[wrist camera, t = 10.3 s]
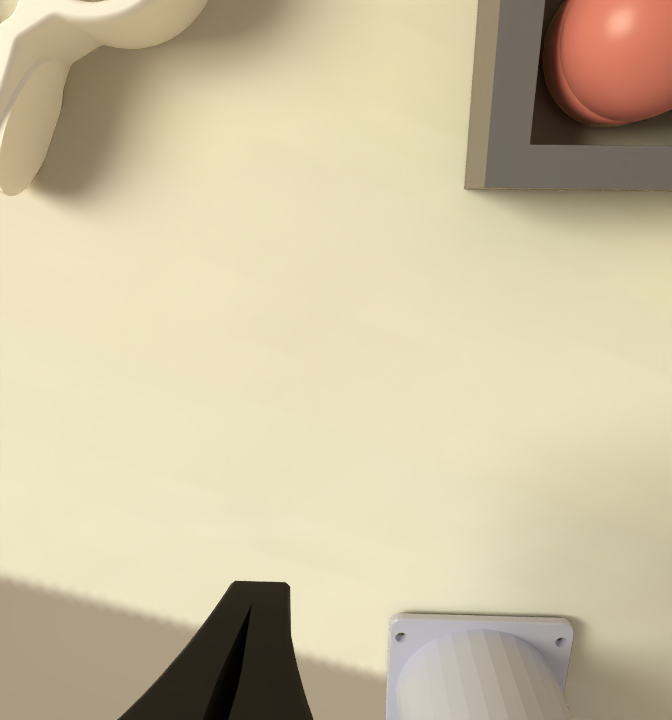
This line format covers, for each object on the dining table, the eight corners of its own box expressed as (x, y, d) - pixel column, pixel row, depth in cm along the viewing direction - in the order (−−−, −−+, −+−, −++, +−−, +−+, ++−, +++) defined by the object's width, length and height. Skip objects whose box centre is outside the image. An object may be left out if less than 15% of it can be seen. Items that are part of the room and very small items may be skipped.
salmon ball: (663, 130, 18) (759, 110, 14) (529, 129, 18) (582, 109, 14) (690, -26, 17) (805, -101, 12) (545, -26, 17) (610, -101, 12)
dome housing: (702, 191, 19) (766, 190, 16) (464, 188, 19) (484, 187, 16) (758, -94, 16) (845, -155, 13) (485, -93, 17) (513, -154, 14)
